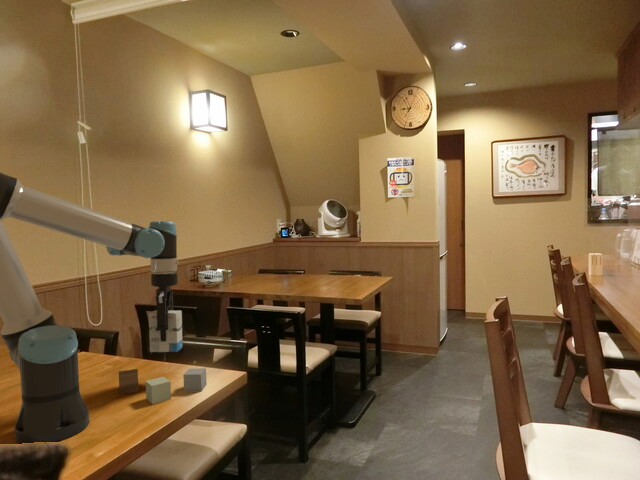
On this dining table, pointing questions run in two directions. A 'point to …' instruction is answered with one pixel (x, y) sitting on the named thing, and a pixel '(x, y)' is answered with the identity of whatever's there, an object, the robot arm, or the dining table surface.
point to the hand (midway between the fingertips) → (166, 348)
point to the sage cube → (158, 390)
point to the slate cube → (194, 380)
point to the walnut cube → (128, 381)
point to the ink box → (174, 331)
